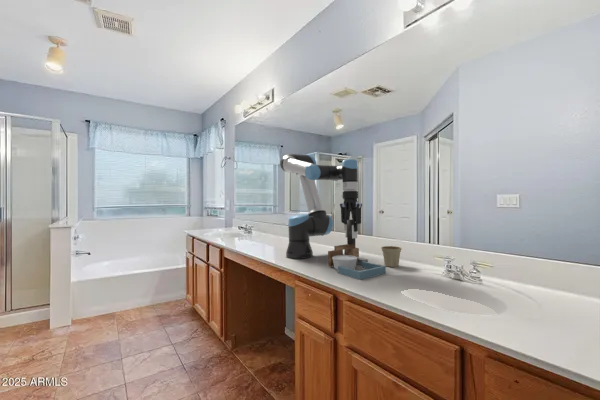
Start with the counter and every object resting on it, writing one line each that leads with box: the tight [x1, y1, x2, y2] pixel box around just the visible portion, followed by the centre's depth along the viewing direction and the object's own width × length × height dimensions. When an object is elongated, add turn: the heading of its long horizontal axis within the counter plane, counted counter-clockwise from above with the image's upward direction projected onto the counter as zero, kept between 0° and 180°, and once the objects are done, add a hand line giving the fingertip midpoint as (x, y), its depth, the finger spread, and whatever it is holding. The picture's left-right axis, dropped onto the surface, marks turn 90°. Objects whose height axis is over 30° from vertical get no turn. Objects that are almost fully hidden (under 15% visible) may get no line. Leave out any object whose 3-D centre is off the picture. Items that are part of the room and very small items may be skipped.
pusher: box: [327, 219, 360, 268], centre depth 142 cm, size 6×16×21 cm, turn 124°
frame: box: [337, 261, 387, 280], centre depth 125 cm, size 13×16×3 cm
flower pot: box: [380, 245, 403, 268], centre depth 137 cm, size 9×9×9 cm
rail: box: [343, 253, 369, 267], centre depth 145 cm, size 19×3×3 cm, turn 34°
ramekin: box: [332, 254, 357, 271], centre depth 134 cm, size 11×11×5 cm
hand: (351, 237), depth 145 cm, fingers closed on pusher, 4 cm apart
